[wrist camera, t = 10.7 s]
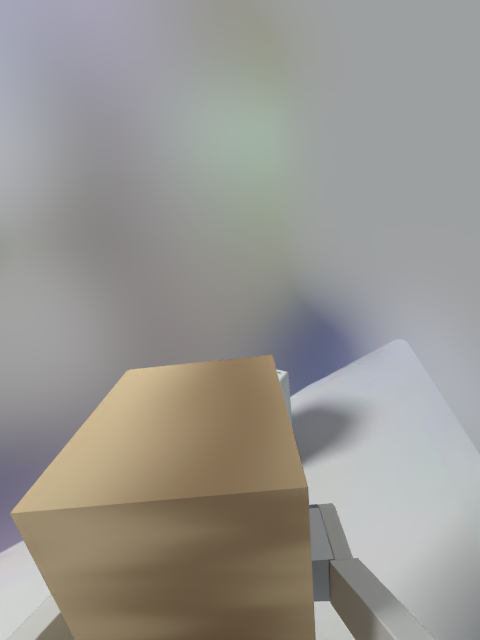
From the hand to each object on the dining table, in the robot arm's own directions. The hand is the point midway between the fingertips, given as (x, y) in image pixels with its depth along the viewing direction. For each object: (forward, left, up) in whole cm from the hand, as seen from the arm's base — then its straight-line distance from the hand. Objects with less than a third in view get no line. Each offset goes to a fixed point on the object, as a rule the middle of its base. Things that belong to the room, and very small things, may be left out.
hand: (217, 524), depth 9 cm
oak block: (0, -1, -6) cm, 7 cm away
